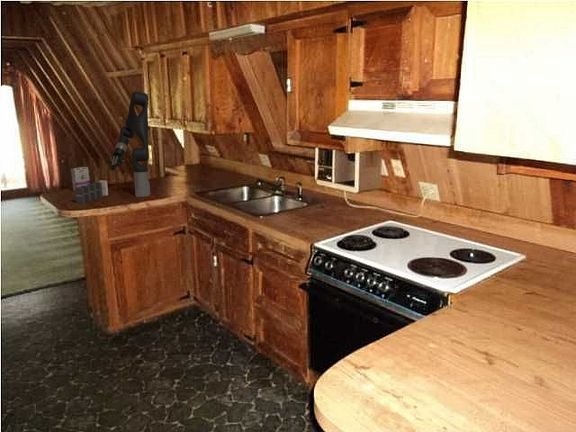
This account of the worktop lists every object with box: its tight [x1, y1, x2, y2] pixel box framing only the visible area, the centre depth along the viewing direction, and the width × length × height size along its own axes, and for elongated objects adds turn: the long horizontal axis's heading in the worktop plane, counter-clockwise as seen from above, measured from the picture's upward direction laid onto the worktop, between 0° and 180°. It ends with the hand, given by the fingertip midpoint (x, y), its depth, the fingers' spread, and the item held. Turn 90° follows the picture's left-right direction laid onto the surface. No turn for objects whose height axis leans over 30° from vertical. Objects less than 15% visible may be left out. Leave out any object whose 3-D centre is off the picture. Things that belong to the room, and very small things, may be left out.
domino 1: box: [74, 187, 86, 205], centre depth 295 cm, size 2×5×10 cm, turn 75°
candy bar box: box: [70, 166, 91, 192], centre depth 329 cm, size 11×5×16 cm, turn 143°
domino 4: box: [92, 181, 104, 198], centre depth 311 cm, size 2×5×10 cm, turn 75°
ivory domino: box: [98, 179, 109, 196], centre depth 317 cm, size 2×5×10 cm, turn 75°
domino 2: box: [81, 185, 92, 202], centre depth 300 cm, size 2×5×10 cm, turn 75°
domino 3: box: [87, 183, 98, 200], centre depth 306 cm, size 2×5×10 cm, turn 75°
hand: (112, 169), depth 324 cm, fingers closed
